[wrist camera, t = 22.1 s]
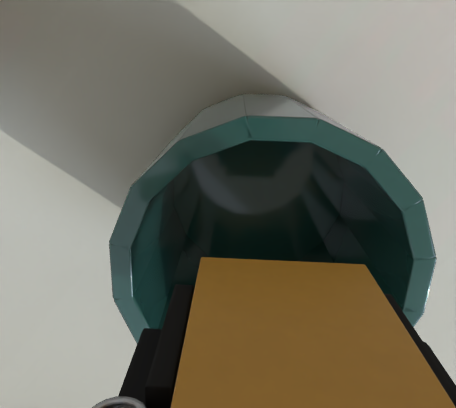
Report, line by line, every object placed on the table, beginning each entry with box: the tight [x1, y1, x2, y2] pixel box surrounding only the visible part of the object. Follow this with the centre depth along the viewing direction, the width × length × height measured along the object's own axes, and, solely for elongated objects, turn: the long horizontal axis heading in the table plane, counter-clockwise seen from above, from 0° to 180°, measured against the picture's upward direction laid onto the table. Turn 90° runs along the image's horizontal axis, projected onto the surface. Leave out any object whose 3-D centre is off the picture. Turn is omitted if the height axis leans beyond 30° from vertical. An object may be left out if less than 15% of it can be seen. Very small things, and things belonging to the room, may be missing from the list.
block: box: [171, 257, 456, 408], centre depth 9 cm, size 5×5×6 cm
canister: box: [109, 94, 436, 344], centre depth 19 cm, size 12×12×10 cm
